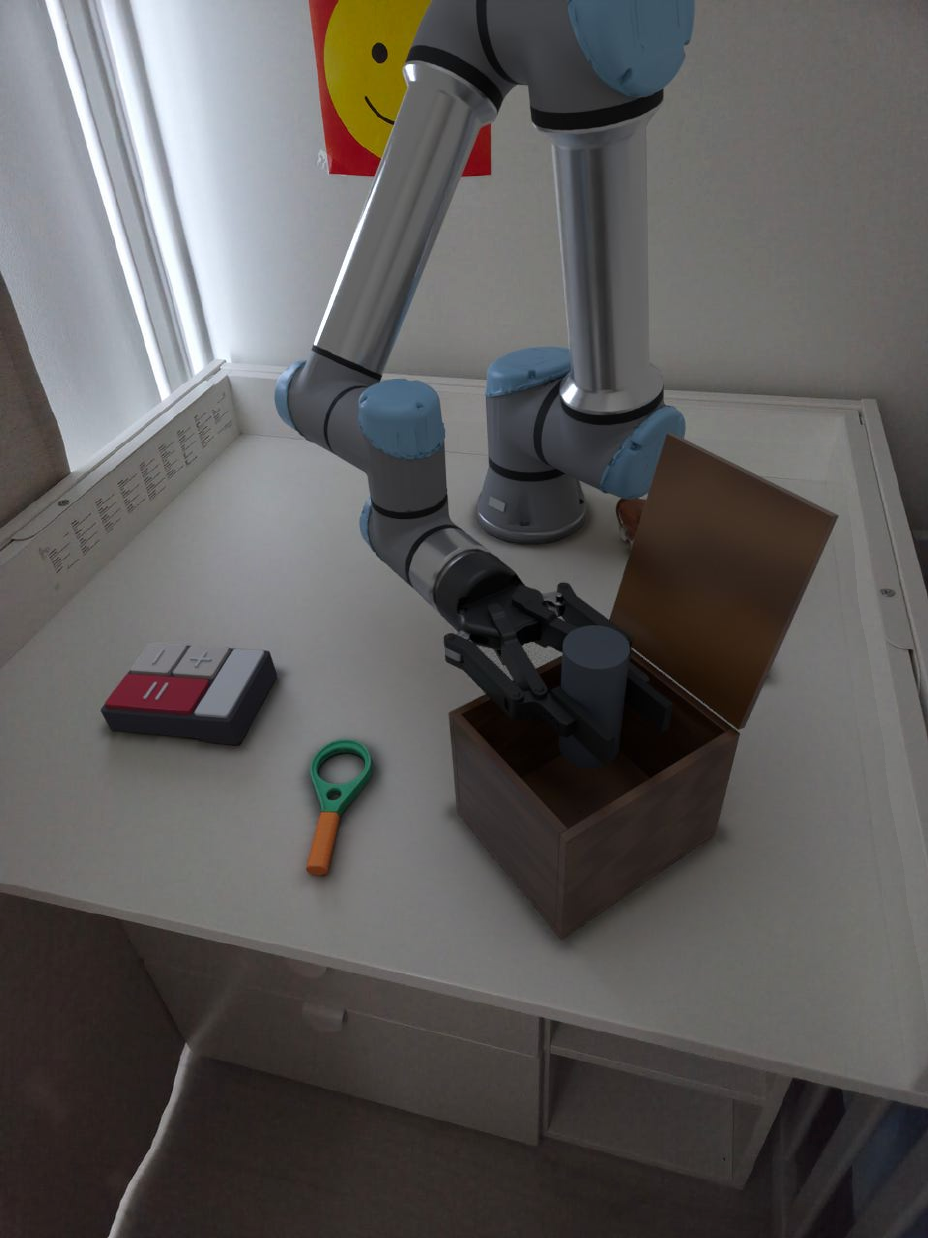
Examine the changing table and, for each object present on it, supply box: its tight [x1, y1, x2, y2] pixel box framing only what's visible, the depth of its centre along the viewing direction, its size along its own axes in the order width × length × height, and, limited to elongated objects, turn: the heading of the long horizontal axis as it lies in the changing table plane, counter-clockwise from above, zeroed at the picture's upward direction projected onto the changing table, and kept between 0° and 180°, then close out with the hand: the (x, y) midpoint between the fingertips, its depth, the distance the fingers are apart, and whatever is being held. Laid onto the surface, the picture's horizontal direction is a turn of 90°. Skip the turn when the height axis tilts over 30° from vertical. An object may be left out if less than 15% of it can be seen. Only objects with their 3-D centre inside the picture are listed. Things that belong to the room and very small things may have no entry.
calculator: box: [100, 642, 278, 746], centre depth 88 cm, size 11×4×15 cm
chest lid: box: [608, 433, 840, 731], centre depth 64 cm, size 18×16×1 cm
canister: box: [558, 625, 630, 768], centre depth 64 cm, size 5×5×11 cm
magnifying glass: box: [305, 738, 374, 876], centre depth 76 cm, size 15×6×2 cm, turn 176°
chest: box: [448, 649, 741, 940], centre depth 70 cm, size 18×16×13 cm
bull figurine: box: [615, 498, 646, 548], centre depth 104 cm, size 4×13×8 cm, turn 58°
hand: (638, 734), depth 60 cm, fingers closed on canister, 5 cm apart
